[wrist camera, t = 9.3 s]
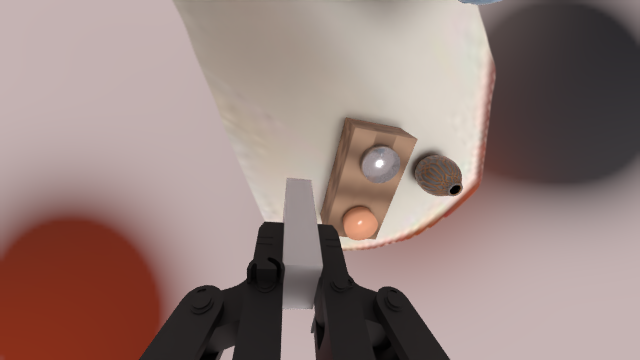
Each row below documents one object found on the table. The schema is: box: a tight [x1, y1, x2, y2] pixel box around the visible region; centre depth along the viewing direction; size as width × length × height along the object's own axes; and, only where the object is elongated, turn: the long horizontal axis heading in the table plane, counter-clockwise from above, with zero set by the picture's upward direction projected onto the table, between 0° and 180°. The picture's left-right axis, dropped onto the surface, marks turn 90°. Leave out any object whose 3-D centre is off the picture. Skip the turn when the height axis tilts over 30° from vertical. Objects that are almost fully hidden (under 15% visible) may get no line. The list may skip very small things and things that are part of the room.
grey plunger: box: [360, 144, 400, 183], centre depth 37 cm, size 6×6×6 cm
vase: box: [415, 155, 463, 196], centre depth 40 cm, size 7×7×9 cm
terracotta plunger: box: [343, 207, 378, 240], centre depth 41 cm, size 6×6×6 cm
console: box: [321, 118, 417, 239], centre depth 41 cm, size 20×10×6 cm, turn 168°
